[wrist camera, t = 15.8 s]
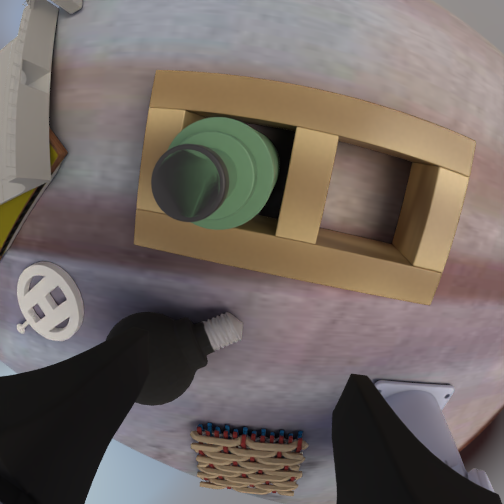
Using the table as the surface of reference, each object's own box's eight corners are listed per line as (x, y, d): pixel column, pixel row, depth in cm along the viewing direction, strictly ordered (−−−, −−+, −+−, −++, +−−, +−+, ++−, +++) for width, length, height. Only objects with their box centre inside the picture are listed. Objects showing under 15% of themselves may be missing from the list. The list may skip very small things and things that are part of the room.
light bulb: (270, 380, 18) (121, 432, 16) (253, 351, 24) (138, 394, 23) (228, 281, 18) (73, 342, 16) (221, 275, 24) (103, 322, 22)
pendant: (45, 247, 21) (51, 244, 22) (-3, 299, 24) (2, 296, 25) (94, 323, 23) (99, 318, 23) (36, 357, 25) (41, 353, 26)
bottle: (272, 208, 19) (251, 274, 9) (201, 194, 19) (113, 243, 9) (286, 135, 18) (281, 117, 8) (213, 123, 18) (127, 99, 8)
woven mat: (296, 499, 26) (297, 484, 28) (310, 446, 22) (310, 429, 24) (199, 489, 27) (203, 475, 29) (186, 434, 24) (192, 418, 26)
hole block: (408, 278, 19) (430, 306, 16) (160, 226, 20) (133, 244, 16) (444, 140, 16) (476, 141, 12) (181, 83, 17) (155, 69, 13)
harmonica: (-27, 246, 21) (-14, 238, 23) (-11, 271, 22) (2, 262, 23) (36, 124, 16) (53, 122, 18) (58, 154, 17) (74, 151, 19)
